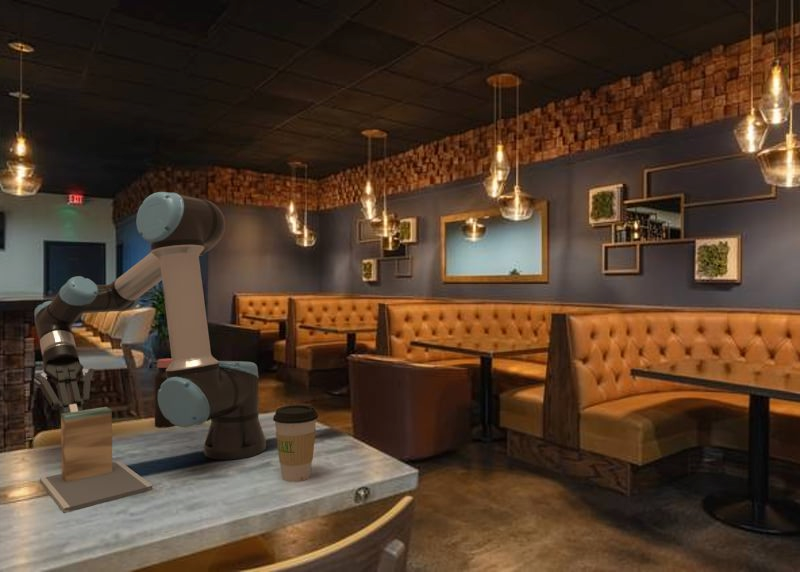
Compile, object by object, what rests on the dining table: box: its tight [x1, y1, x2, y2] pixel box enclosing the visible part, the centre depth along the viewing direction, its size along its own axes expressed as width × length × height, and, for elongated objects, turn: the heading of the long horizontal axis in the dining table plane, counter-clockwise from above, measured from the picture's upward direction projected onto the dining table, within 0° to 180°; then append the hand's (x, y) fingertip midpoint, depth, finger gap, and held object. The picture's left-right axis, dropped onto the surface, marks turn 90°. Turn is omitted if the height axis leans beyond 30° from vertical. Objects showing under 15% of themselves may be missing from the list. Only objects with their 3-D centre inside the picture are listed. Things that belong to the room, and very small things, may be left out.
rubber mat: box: [39, 460, 153, 514], centre depth 114 cm, size 22×16×1 cm
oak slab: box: [60, 406, 113, 482], centre depth 118 cm, size 4×9×14 cm, turn 134°
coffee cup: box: [272, 404, 319, 483], centre depth 118 cm, size 10×10×15 cm
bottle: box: [153, 357, 176, 428], centre depth 163 cm, size 7×7×20 cm
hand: (77, 430), depth 124 cm, fingers closed
